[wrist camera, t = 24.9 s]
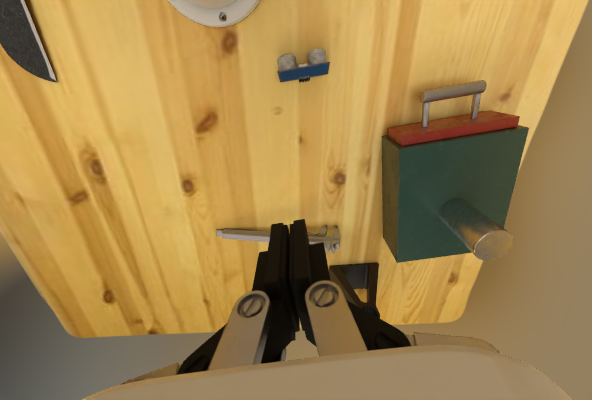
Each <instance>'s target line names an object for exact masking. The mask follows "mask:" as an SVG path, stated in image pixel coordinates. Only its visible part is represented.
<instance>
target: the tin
mask: <svg viewBox="0 0 592 400" xmlns="http://www.w3.org/2000/svg"><path fill="white" fill-rule="evenodd" d="M438 215H439V219H440V220H441V222H442V223H443V224H444V225H445V226H446V227H447V228H448V229H449V230H450V231H451V232H452V233H453V234H454V235H455V236H456V237H457V238H458V239H459V240H460V241H461V242H462V243H463V244H464V245H465V246H466V247H467V248H468V249H469V250H470V251H471V252H472V253H473V254H474V255H475V256H476V257H477V258H479V259H481V260H494V259H497V258H499V257H501V256H503V255H504V254H506V253H507V252H508V251H509V250H510V249H511V247H512V245H513V240H514V239H513V236H512V234H511V233H509V232H508V231H507V230H505V229H504V228H503V227H501V226H500V225H499V224H497V223H496V222H494V221H493V220H492V219H490V218H489V217H488V216H486V215H485V214H484V213H482V212H481V211H480V210H478V209H477V208H476V207H474V206H473V205H472V204H470V203H469V202H468V201H466V200H465V199H462V198H454V199H451V200H449V201H447V202H446V203H444V204H443V205H442V207H441V208H440V210H439V214H438Z"/></svg>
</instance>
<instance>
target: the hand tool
mask: <svg viewBox="0 0 592 400" xmlns="http://www.w3.org/2000/svg"><path fill="white" fill-rule="evenodd" d="M0 43H1V45H2V47H3V48H4V50H5V51H6V52H7V54H8V55H9V56H10V57H11V58H12V59H13V60H14V61H15V62H16V63H17V64H18V65H20V66H21V67H22V68H24V69H25V70H26V71H28V72H30V73H31V74H33V75H35V76H37V77H40V78H42V79H45V80H48V81H52V82H56V78H55V75H54V73H53V70H52V68H51V66H50V63H49V61H48V58H47V56H46V53H45V51H44V48H43V46H42V43H41V41H40V38H39V36H38V33H37V31H36V28H35V26H34V23H33V21H32V18H31V16H30V13H29V11H28V8H27V6H26V3H25V1H24V0H0Z"/></svg>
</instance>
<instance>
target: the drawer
mask: <svg viewBox="0 0 592 400" xmlns="http://www.w3.org/2000/svg"><path fill="white" fill-rule="evenodd" d="M485 89H486V82H485V81H484V80H480V81H475V82H469V83H464V84H458V85H453V86H447V87H441V88H436V89H430V90H425V91H422V92H421V93H420V102H421V103H422V118H421V123H416V124H410V125H404V126H398V127H392V128H388V137H389V138H391V139H392V140H394V141H395V142H397V143H398V144H400V145H401V146H409V145H415V144H421V143H427V142H433V141H439V140H445V139H451V138H457V137H463V136H469V135H475V134H481V133H487V132H489V131H495V130H501V129H507V128H513V127H517V126H518V122H519V118H520V116H515V115H510V114H505V113H500V112H495V111H486V112H480V113H478V111H479V104H480V98H481V93H483V92H484V91H485ZM467 95H473V99H472V106H471V112H470V114H468V115H462V116H456V117H451V118H445V119H439V120H433V121H428V115H429V102H433V101H439V100H444V99H450V98H456V97H461V96H467Z"/></svg>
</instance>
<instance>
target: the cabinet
mask: <svg viewBox="0 0 592 400" xmlns="http://www.w3.org/2000/svg"><path fill="white" fill-rule="evenodd" d="M528 130H529V128H528V127H524V126H520V125H518V126H517V127H513V128H507V129H501V130H495V131H489V132H487V133H481V134H475V135H469V136H463V137H457V138H451V139H445V140H439V141H433V142H427V143H421V144H415V145H409V146H401V145H400V144H398V143H397V142H395V141H394V140H392V139H391V138H389V137H388V135H386V136H382V195H383V238H384V239H385V241H386V243H387V245H388V247H389V249H390V251H391V252H392V254H393V256H394V258H395V260H396V261H397V263H398V262H406V261H413V260H420V259H428V258H435V257H442V256H450V255H457V254H464V253H472V252H471V251H470V250H469V249H468V248H467V247H466V246H465V245H464V244H463V243H462V242H461V241H460V240H459V239H458V238H457V237H456V236H455V235H454V234H453V233H452V232H451V231H450V230H449V229H448V228H447V227H446V226H445V225H444V224H443V223H442V222H441V220H440V219H439V215H438V214H439V210H440V208H441V207H442V205H443V204H444V203H446V202H447V201H449V200H451V199H454V198H462V199H465V200H466V201H468V202H469V203H470V204H472V205H473V206H474V207H476V208H477V209H478V210H480V211H481V212H482V213H484V214H485V215H486V216H488V217H489V218H490V219H492V220H493V221H494V222H496V223H497V224H499V225H500V226H501V227H503V228H504V224H505V220H506V216H507V211H508V208H509V204H510V200H511V196H512V193H513V189H514V185H515V181H516V177H517V173H518V169H519V165H520V161H521V157H522V153H523V149H524V145H525V141H526V137H527V133H528Z"/></svg>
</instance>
